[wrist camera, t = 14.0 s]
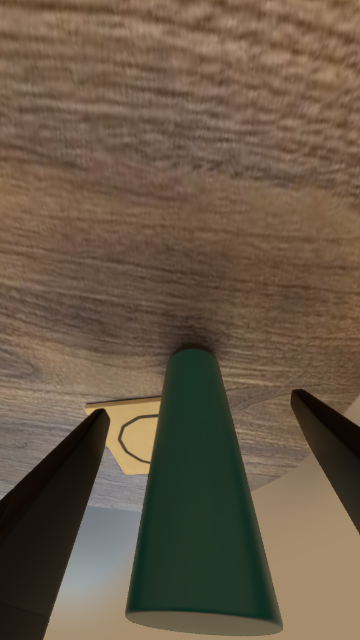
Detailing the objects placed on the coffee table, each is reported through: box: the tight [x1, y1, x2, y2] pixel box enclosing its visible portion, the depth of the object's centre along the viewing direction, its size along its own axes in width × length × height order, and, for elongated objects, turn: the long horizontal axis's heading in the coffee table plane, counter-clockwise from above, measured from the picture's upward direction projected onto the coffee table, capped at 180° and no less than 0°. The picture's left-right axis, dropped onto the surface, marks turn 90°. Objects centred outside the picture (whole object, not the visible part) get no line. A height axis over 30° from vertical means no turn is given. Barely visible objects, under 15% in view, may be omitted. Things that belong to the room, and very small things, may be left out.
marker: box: [125, 344, 283, 636], centre depth 7 cm, size 3×3×8 cm
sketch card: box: [84, 397, 161, 475], centre depth 15 cm, size 10×10×1 cm
